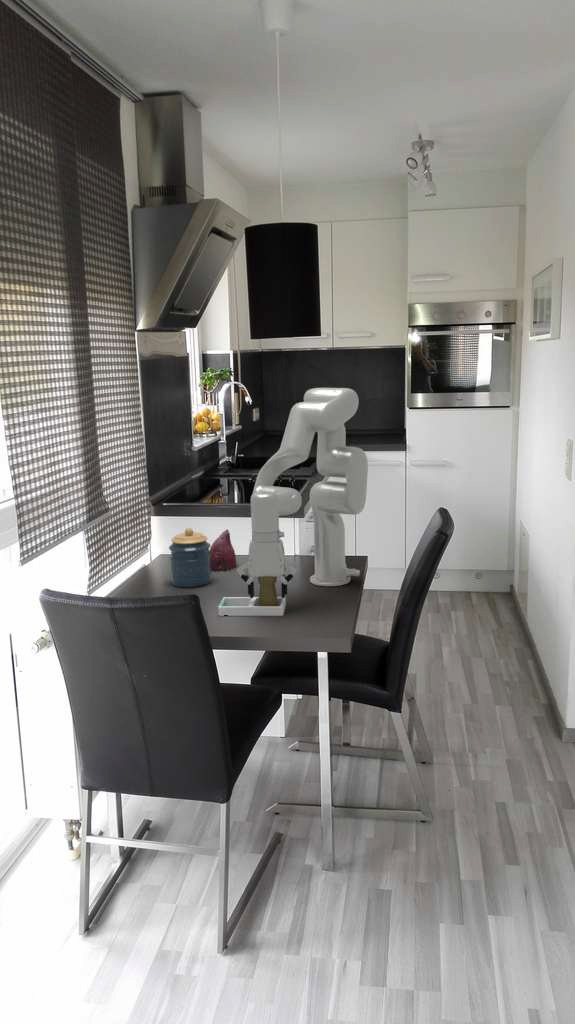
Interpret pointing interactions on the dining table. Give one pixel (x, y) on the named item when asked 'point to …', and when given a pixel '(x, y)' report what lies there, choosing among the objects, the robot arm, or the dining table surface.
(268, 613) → the white divided tray
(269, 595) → the cork
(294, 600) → the dining table surface
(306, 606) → the dining table surface
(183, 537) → the canister
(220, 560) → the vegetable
